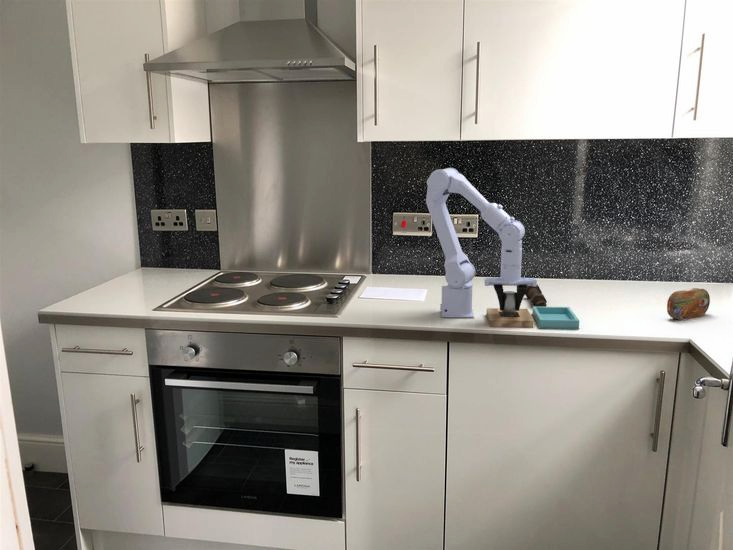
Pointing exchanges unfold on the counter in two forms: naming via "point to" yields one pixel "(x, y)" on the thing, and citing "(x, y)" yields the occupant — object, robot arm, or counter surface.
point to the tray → (555, 318)
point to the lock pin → (509, 304)
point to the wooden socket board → (509, 318)
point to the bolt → (536, 296)
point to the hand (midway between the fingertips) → (509, 309)
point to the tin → (688, 303)
